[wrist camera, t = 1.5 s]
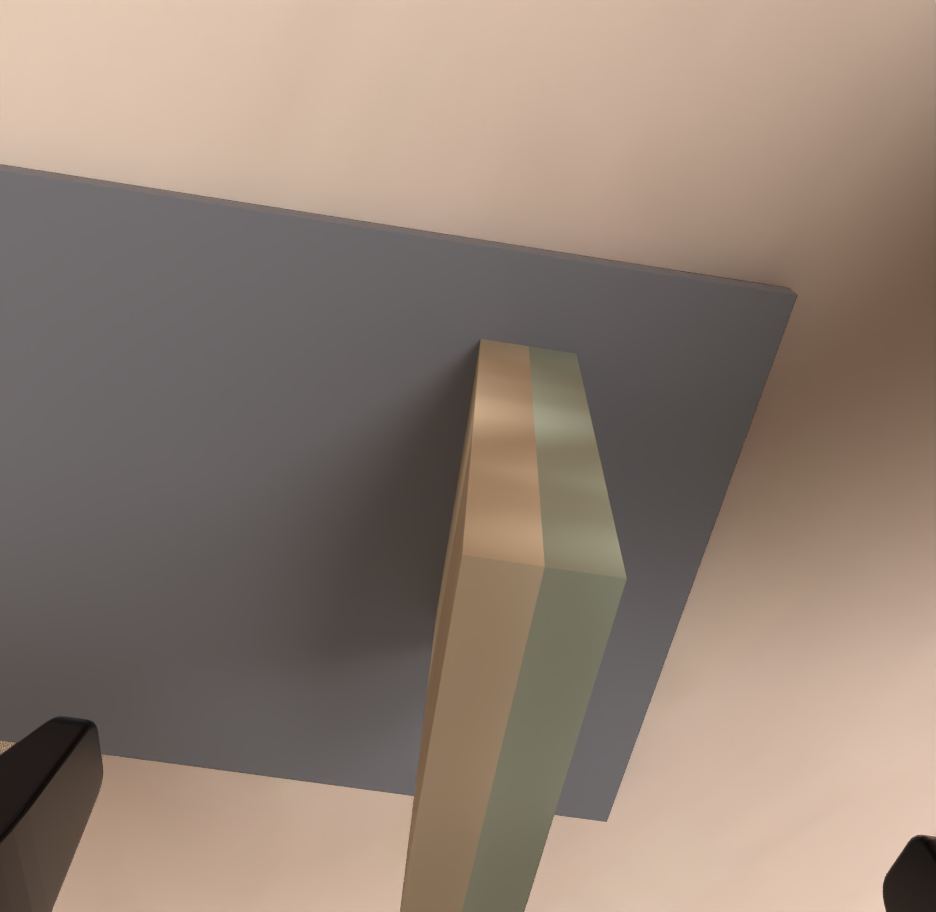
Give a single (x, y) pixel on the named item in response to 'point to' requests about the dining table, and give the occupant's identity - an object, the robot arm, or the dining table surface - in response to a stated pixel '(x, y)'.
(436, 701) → the tile
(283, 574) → the mat
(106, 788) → the dining table surface
